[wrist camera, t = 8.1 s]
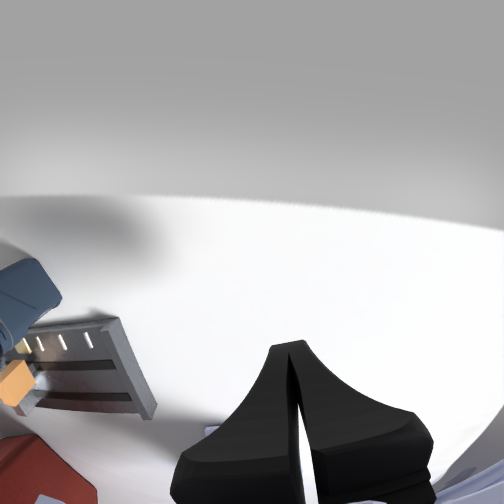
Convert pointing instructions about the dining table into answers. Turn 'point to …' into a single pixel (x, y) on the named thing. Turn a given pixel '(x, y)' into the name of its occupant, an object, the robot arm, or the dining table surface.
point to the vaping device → (23, 300)
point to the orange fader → (16, 381)
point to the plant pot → (38, 474)
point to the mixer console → (82, 369)
